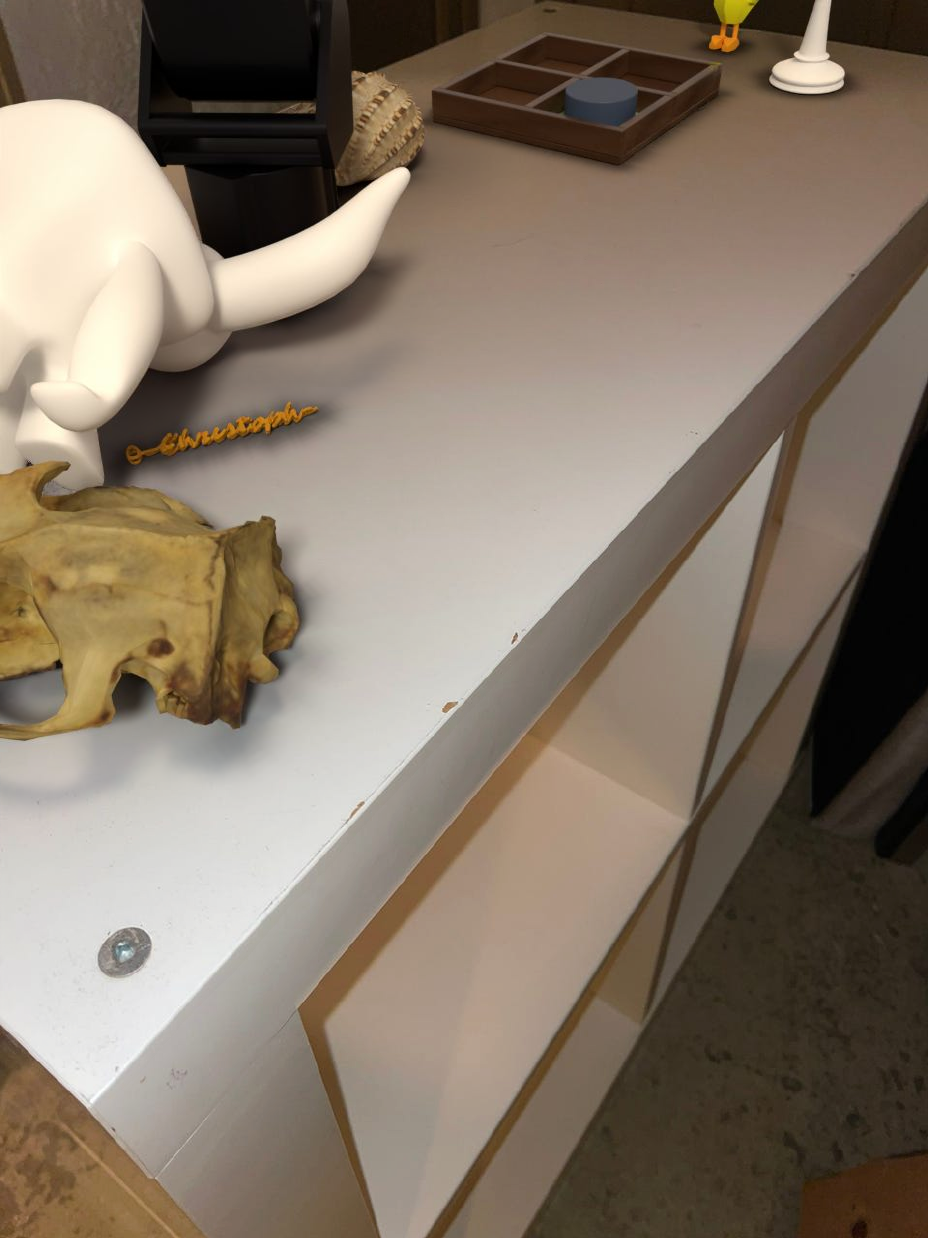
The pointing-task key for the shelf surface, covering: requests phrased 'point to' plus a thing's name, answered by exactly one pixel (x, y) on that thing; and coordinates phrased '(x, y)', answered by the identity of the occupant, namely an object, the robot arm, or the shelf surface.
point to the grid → (535, 95)
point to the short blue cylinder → (601, 100)
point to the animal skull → (135, 600)
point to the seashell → (377, 129)
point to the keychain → (218, 437)
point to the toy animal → (129, 278)
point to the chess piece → (810, 60)
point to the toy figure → (730, 21)
